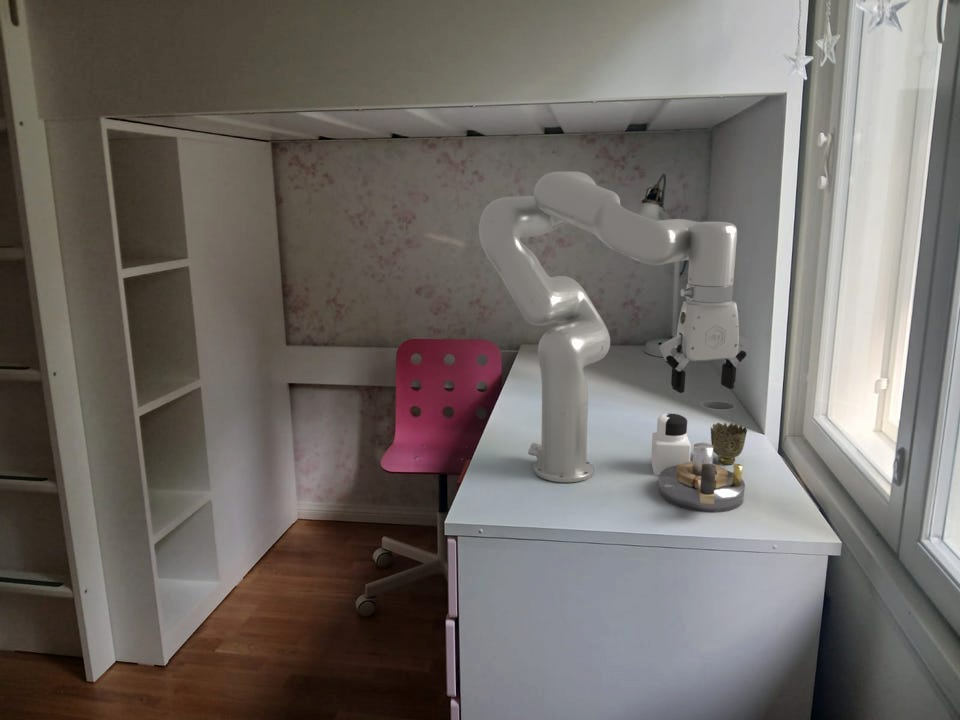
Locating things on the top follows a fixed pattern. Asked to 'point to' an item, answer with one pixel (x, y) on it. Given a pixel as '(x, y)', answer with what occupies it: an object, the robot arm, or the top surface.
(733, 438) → the cup
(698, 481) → the wrench
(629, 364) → the top surface
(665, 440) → the medicine bottle
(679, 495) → the post base
